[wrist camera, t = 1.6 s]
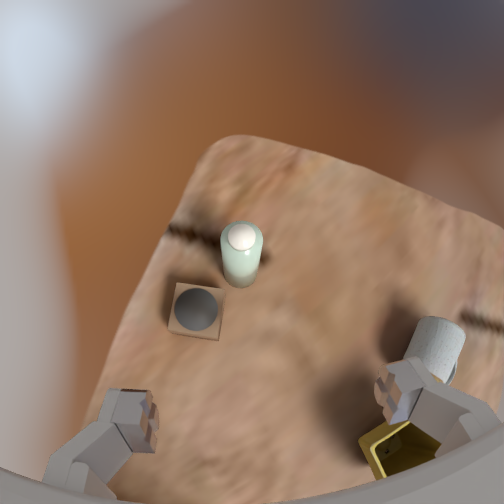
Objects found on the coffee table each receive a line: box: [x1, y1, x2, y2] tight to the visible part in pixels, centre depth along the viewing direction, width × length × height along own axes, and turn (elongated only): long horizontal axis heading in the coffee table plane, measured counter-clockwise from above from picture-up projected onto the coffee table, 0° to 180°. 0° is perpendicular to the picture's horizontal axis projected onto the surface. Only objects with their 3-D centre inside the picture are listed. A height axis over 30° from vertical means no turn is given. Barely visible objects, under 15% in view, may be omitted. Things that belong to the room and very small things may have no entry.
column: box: [221, 221, 263, 288], centre depth 37 cm, size 4×4×11 cm
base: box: [168, 282, 225, 341], centre depth 37 cm, size 6×6×3 cm
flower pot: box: [358, 420, 442, 480], centre depth 28 cm, size 9×9×9 cm
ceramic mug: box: [402, 316, 465, 385], centre depth 34 cm, size 11×8×8 cm
